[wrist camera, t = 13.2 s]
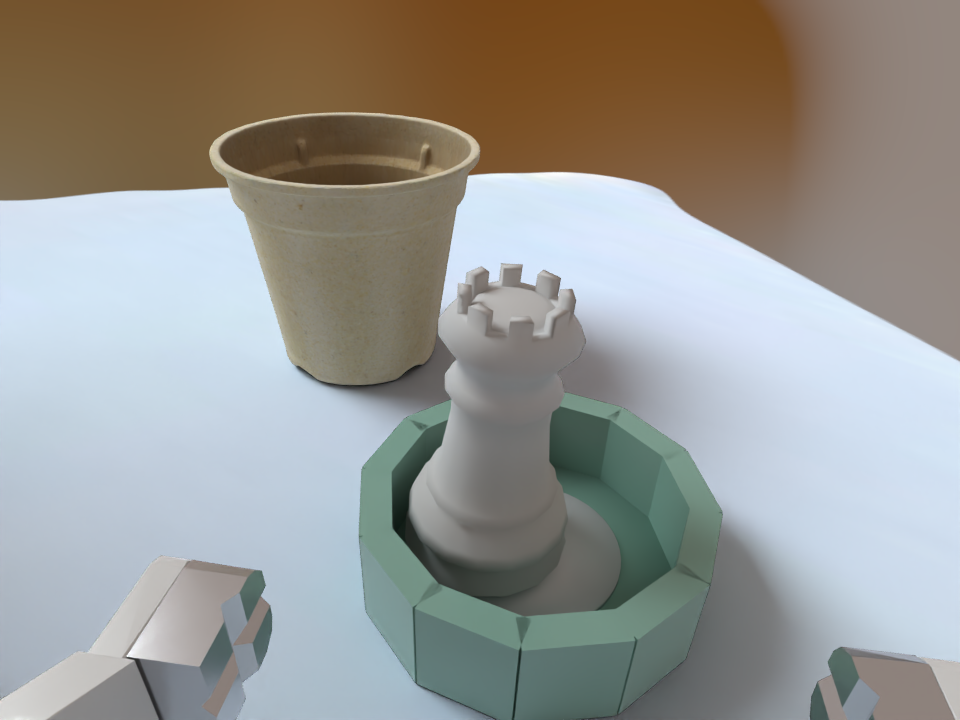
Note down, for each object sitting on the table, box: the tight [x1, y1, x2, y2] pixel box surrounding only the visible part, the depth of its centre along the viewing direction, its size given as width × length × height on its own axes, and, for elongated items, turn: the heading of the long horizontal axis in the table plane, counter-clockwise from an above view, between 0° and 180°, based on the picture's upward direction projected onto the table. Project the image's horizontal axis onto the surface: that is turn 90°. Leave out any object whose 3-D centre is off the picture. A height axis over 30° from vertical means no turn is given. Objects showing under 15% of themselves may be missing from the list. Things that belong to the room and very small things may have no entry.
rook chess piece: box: [405, 263, 586, 597], centre depth 17 cm, size 4×4×8 cm
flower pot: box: [210, 113, 480, 385], centre depth 26 cm, size 9×9×9 cm
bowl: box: [359, 392, 723, 720], centre depth 18 cm, size 9×9×3 cm
